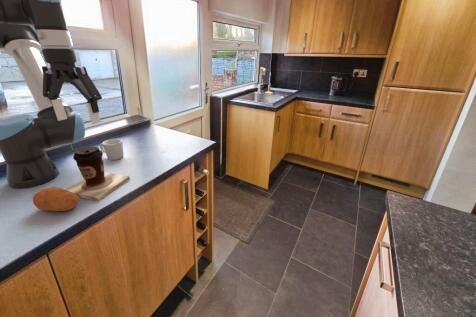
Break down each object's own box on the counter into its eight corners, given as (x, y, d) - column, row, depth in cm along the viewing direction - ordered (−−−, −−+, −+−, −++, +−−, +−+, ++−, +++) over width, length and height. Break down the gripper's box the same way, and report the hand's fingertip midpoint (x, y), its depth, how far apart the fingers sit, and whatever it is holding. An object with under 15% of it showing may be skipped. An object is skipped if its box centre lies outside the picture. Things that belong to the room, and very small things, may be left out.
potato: (52, 199, 77) (45, 181, 74) (87, 203, 75) (80, 184, 72) (31, 213, 71) (22, 193, 68) (68, 218, 69) (61, 198, 66)
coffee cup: (97, 190, 80) (86, 156, 74) (76, 188, 81) (64, 154, 76) (114, 178, 87) (106, 146, 82) (95, 176, 89) (85, 144, 83)
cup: (96, 160, 105) (92, 143, 101) (109, 153, 112) (105, 137, 109) (117, 162, 103) (113, 145, 99) (129, 155, 110) (125, 139, 106)
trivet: (63, 193, 80) (62, 190, 80) (98, 173, 93) (97, 170, 93) (98, 200, 76) (97, 197, 76) (129, 178, 90) (129, 176, 89)
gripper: (10, 47, 65) (38, 121, 74) (81, 47, 59) (101, 127, 68) (37, 47, 72) (60, 115, 81) (104, 47, 66) (120, 121, 75)
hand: (79, 121), depth 75 cm, fingers open, 13 cm apart
